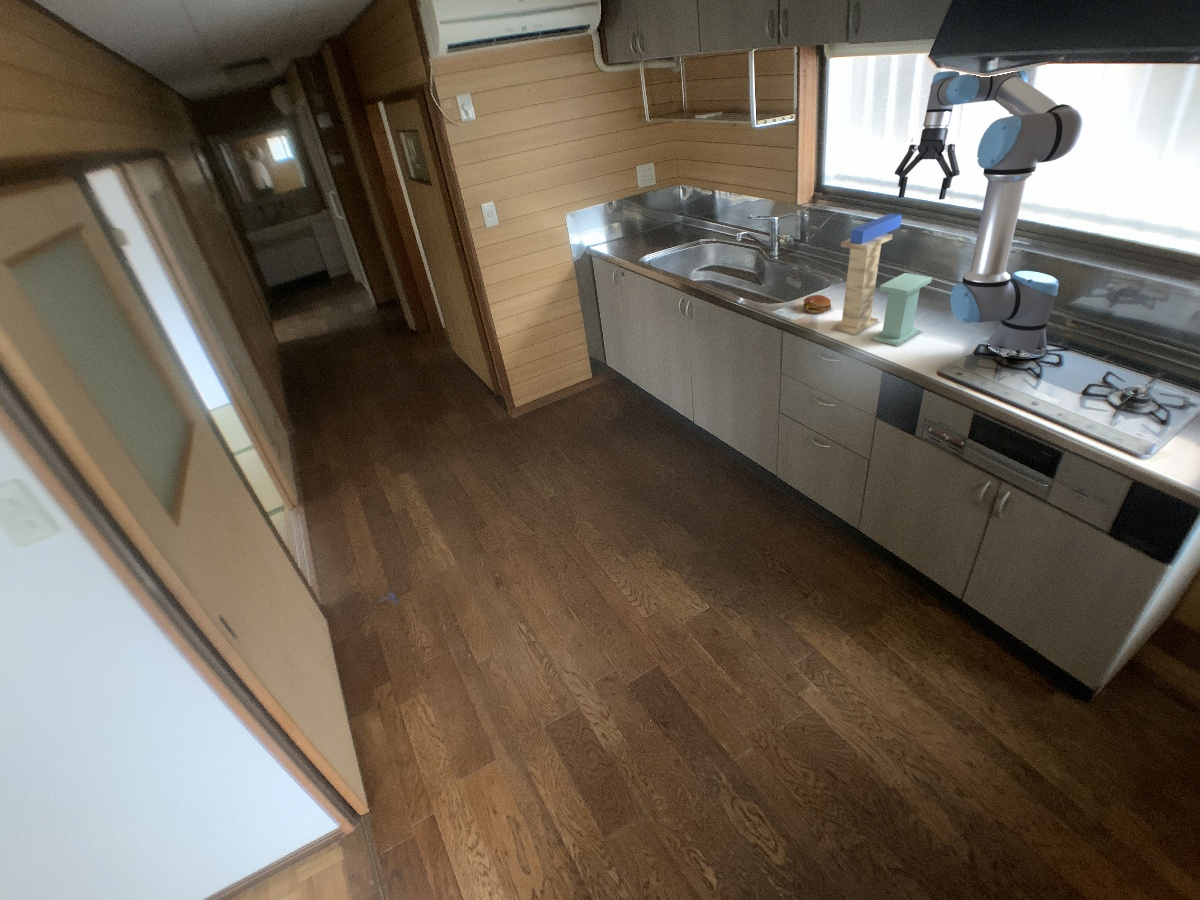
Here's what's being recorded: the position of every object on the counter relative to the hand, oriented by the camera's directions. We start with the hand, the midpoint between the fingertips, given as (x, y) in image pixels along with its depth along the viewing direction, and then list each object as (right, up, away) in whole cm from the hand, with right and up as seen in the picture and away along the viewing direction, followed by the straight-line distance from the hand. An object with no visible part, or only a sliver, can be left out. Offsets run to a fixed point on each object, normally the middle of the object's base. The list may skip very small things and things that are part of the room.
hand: (920, 198), depth 206 cm
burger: (-28, -33, +22) cm, 48 cm away
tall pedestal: (-20, -42, +7) cm, 47 cm away
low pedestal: (-10, -48, -4) cm, 49 cm away
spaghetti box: (-19, -15, -7) cm, 25 cm away
